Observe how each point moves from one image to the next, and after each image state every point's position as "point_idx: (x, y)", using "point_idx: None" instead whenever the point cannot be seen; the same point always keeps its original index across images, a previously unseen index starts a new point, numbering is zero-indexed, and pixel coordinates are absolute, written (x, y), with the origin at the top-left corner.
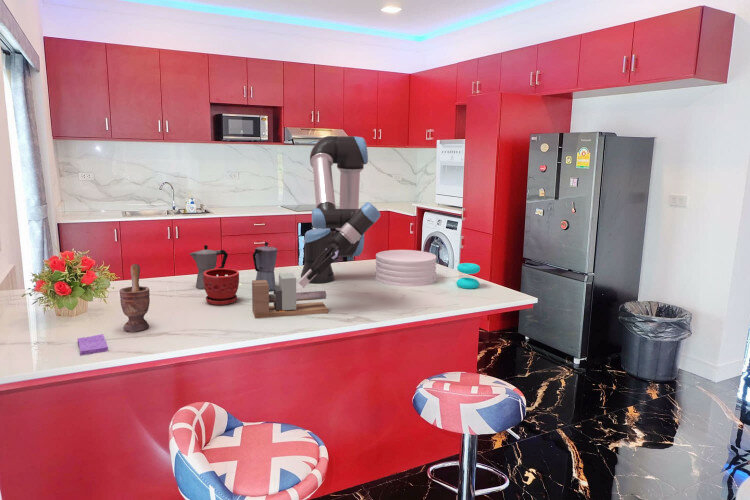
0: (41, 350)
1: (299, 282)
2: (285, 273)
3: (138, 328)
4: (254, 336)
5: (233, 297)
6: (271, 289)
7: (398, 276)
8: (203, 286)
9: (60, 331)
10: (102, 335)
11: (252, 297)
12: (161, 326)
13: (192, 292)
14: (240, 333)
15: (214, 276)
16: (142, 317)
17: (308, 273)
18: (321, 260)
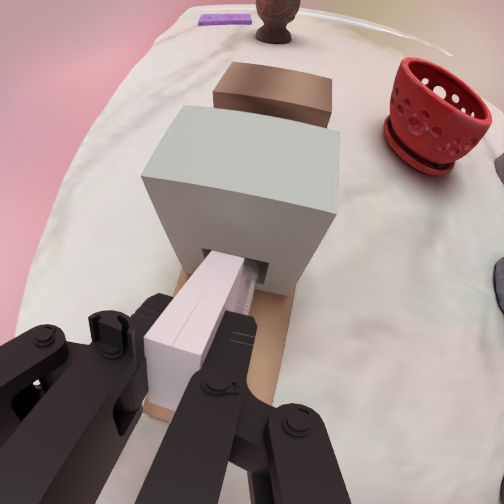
0: (239, 9)
1: (210, 256)
2: (334, 165)
3: (256, 33)
4: (102, 131)
5: (415, 155)
6: (500, 299)
7: None
8: (498, 161)
9: (296, 17)
10: (245, 19)
11: None
12: (268, 50)
13: None
14: (139, 112)
15: (405, 59)
16: (268, 24)
17: (169, 312)
18: (4, 479)
